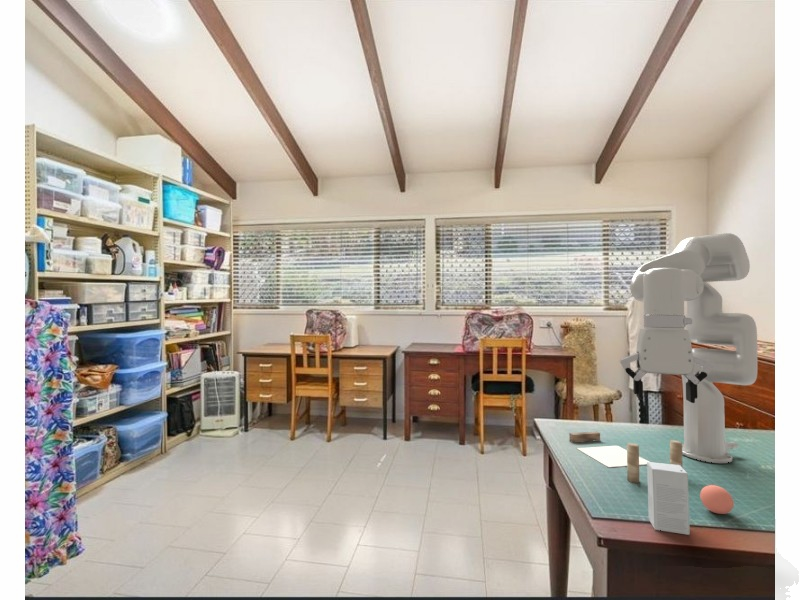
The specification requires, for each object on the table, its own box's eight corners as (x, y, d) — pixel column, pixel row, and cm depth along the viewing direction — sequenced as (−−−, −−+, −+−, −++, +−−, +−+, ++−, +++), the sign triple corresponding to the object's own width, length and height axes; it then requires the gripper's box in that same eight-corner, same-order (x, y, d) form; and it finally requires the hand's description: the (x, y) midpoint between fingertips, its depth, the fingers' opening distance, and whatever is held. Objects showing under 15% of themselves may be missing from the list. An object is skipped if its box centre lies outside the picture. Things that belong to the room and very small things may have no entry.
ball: (715, 504, 84) (714, 479, 84) (741, 518, 79) (740, 491, 79) (693, 506, 83) (693, 481, 83) (718, 520, 78) (718, 493, 78)
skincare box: (681, 524, 77) (680, 464, 77) (690, 536, 73) (689, 473, 73) (647, 518, 79) (646, 460, 79) (653, 530, 75) (652, 469, 75)
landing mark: (617, 446, 120) (617, 445, 120) (653, 464, 106) (653, 463, 106) (576, 448, 117) (576, 448, 117) (608, 467, 104) (608, 467, 104)
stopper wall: (596, 439, 126) (596, 431, 126) (600, 440, 125) (600, 433, 125) (569, 440, 124) (569, 433, 125) (572, 442, 123) (572, 434, 123)
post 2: (676, 474, 99) (675, 440, 100) (685, 478, 97) (684, 443, 97) (667, 475, 99) (667, 440, 99) (676, 479, 96) (675, 444, 97)
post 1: (633, 478, 97) (633, 442, 98) (641, 482, 95) (641, 446, 95) (624, 478, 97) (624, 443, 97) (632, 483, 94) (632, 447, 95)
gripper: (703, 323, 85) (704, 399, 85) (616, 322, 92) (617, 393, 91) (718, 324, 78) (719, 407, 78) (622, 322, 85) (623, 399, 84)
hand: (664, 399), depth 85 cm, fingers open, 9 cm apart
